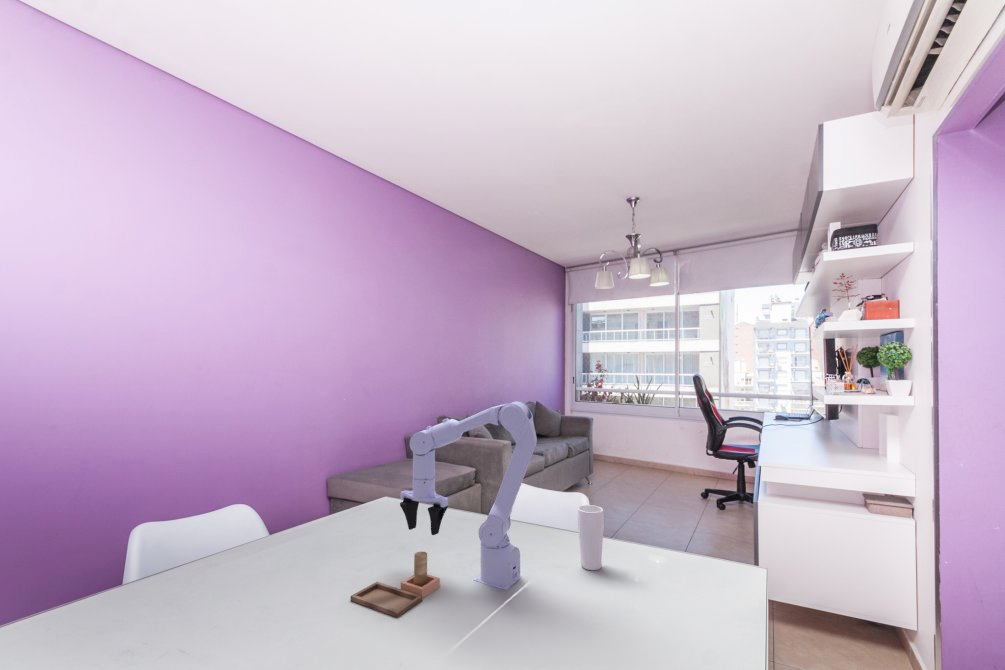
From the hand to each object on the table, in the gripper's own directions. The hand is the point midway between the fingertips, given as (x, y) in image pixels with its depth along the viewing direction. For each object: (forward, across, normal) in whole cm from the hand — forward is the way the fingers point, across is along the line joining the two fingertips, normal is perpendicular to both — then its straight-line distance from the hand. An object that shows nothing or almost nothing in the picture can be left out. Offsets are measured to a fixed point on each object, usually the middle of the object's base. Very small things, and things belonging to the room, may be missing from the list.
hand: (423, 531), depth 119 cm
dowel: (+10, -6, +8) cm, 14 cm away
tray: (+10, -3, +16) cm, 19 cm away
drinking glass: (+11, -36, -25) cm, 45 cm away
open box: (+10, -6, +8) cm, 14 cm away
